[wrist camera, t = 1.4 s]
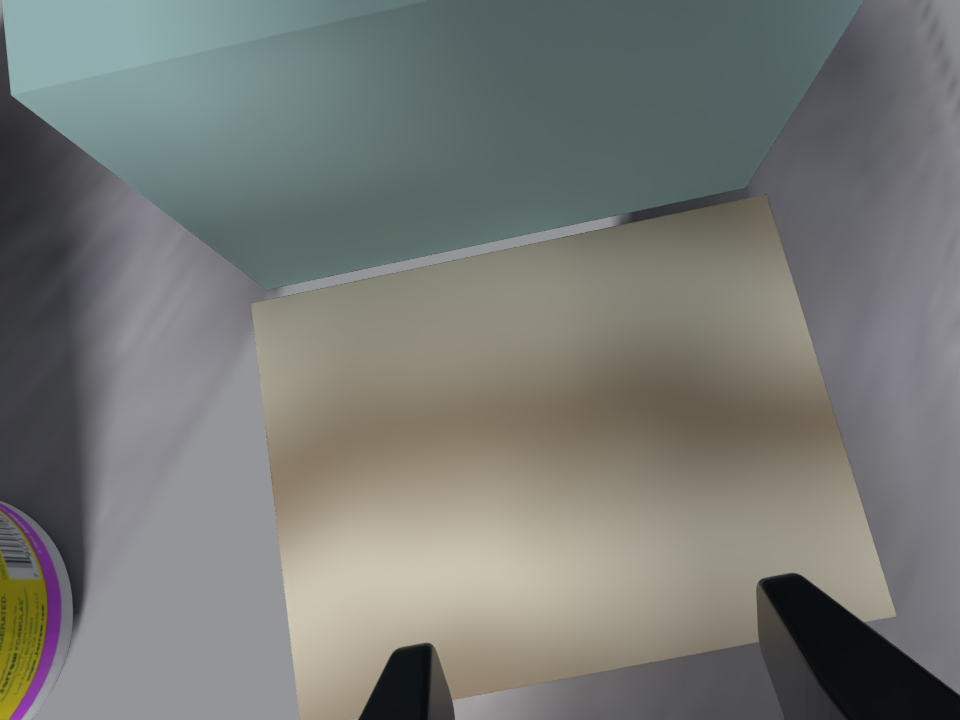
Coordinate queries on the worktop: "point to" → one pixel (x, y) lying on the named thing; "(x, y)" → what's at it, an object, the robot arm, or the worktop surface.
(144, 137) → the panel
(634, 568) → the plate
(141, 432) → the worktop surface
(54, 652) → the supplement bottle
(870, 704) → the robot arm
